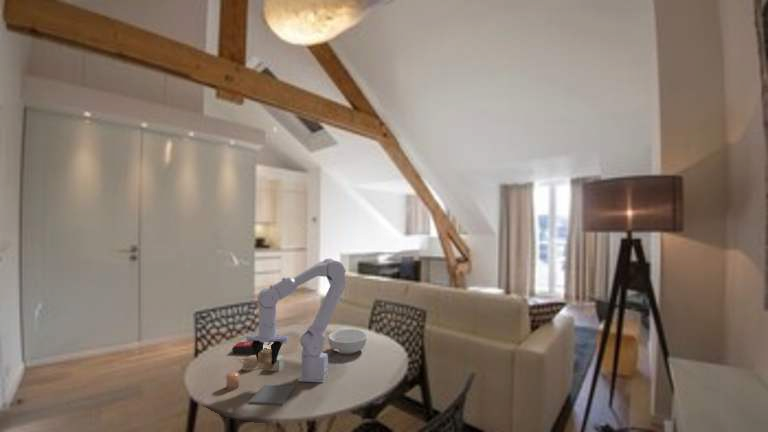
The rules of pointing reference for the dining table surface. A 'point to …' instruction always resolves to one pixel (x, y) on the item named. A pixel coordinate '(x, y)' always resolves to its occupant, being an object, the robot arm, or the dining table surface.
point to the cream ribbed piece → (249, 363)
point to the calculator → (245, 347)
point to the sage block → (278, 364)
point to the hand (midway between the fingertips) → (267, 362)
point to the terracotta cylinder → (232, 381)
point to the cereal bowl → (348, 341)
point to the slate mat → (272, 395)
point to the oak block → (265, 359)
